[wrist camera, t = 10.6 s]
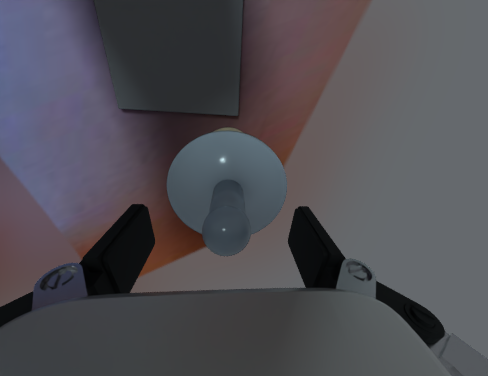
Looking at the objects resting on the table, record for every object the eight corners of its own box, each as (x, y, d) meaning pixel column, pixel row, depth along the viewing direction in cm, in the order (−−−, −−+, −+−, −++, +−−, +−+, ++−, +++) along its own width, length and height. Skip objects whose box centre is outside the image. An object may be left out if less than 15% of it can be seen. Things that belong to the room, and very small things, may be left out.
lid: (161, 126, 14) (94, 149, 7) (293, 133, 15) (346, 159, 8) (176, 233, 19) (144, 308, 12) (276, 234, 20) (299, 303, 13)
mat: (80, -74, 17) (75, -80, 16) (245, -51, 18) (245, -55, 18) (121, 108, 24) (118, 108, 23) (238, 115, 25) (238, 115, 24)
